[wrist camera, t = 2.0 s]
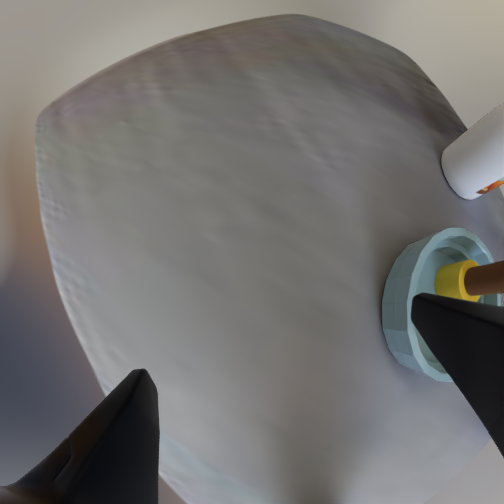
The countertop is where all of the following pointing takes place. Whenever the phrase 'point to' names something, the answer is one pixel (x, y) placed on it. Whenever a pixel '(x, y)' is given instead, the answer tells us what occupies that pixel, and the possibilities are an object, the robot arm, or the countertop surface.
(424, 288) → the bowl
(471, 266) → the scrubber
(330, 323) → the countertop surface
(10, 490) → the robot arm
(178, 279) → the countertop surface
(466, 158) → the milk bottle
